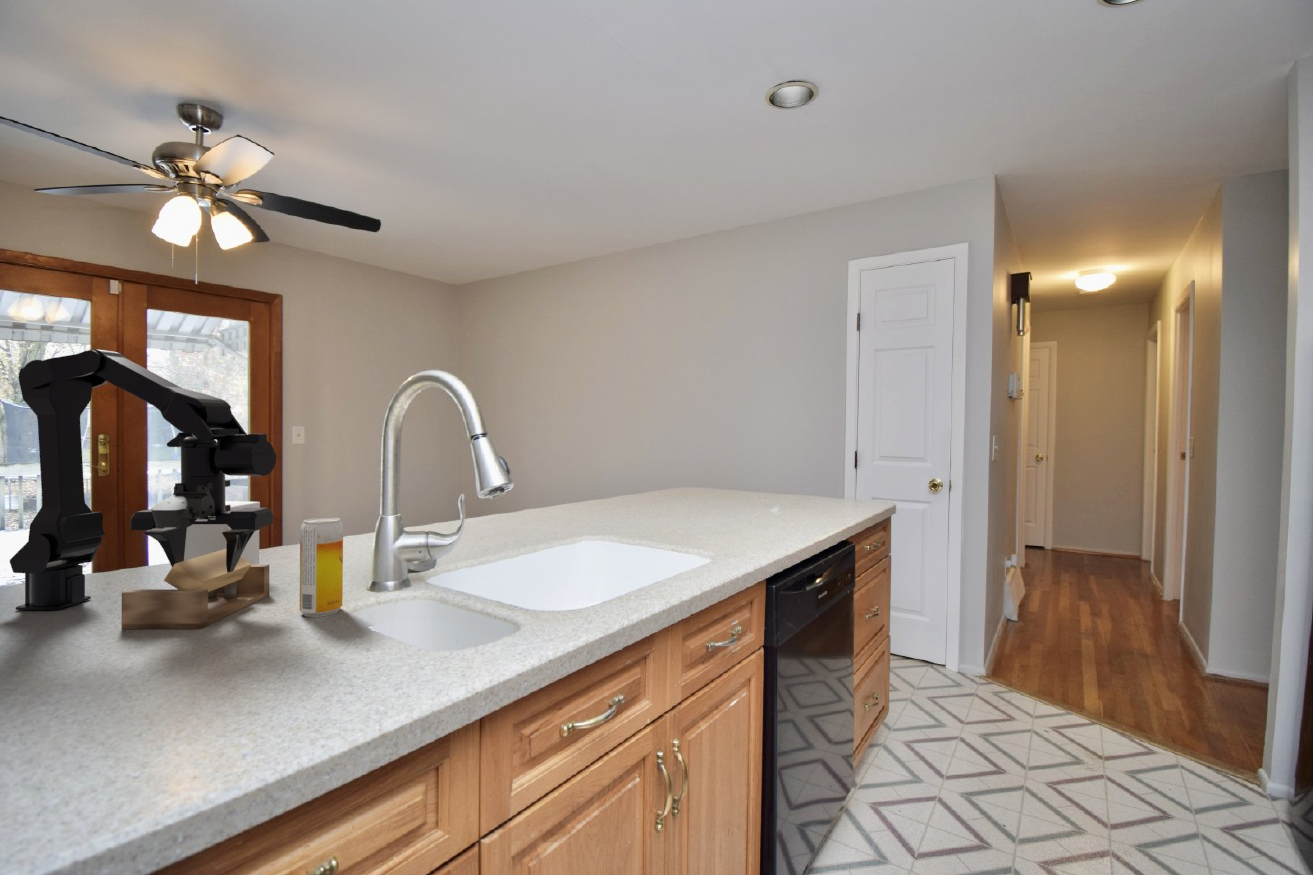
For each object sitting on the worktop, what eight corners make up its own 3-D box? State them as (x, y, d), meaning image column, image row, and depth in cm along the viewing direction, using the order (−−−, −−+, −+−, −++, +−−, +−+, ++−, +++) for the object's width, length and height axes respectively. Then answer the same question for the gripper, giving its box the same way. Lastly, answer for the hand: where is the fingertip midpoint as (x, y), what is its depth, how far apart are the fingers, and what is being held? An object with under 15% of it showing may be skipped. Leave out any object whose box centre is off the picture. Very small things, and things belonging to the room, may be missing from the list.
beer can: (350, 607, 102) (351, 517, 101) (327, 619, 96) (327, 523, 95) (315, 605, 102) (316, 516, 102) (290, 617, 96) (291, 522, 96)
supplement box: (227, 588, 112) (228, 507, 111) (179, 587, 112) (179, 505, 111) (261, 576, 121) (261, 500, 120) (216, 575, 121) (216, 499, 120)
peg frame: (121, 629, 89) (121, 592, 89) (203, 594, 107) (204, 564, 107) (200, 628, 90) (200, 592, 90) (269, 594, 108) (269, 564, 108)
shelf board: (163, 580, 92) (174, 563, 92) (216, 563, 104) (226, 548, 104) (192, 598, 93) (203, 581, 93) (241, 579, 105) (251, 564, 105)
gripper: (99, 480, 90) (101, 586, 90) (233, 479, 91) (233, 584, 91) (156, 473, 101) (157, 568, 101) (274, 473, 102) (275, 567, 102)
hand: (204, 572), depth 99 cm, fingers open, 8 cm apart
